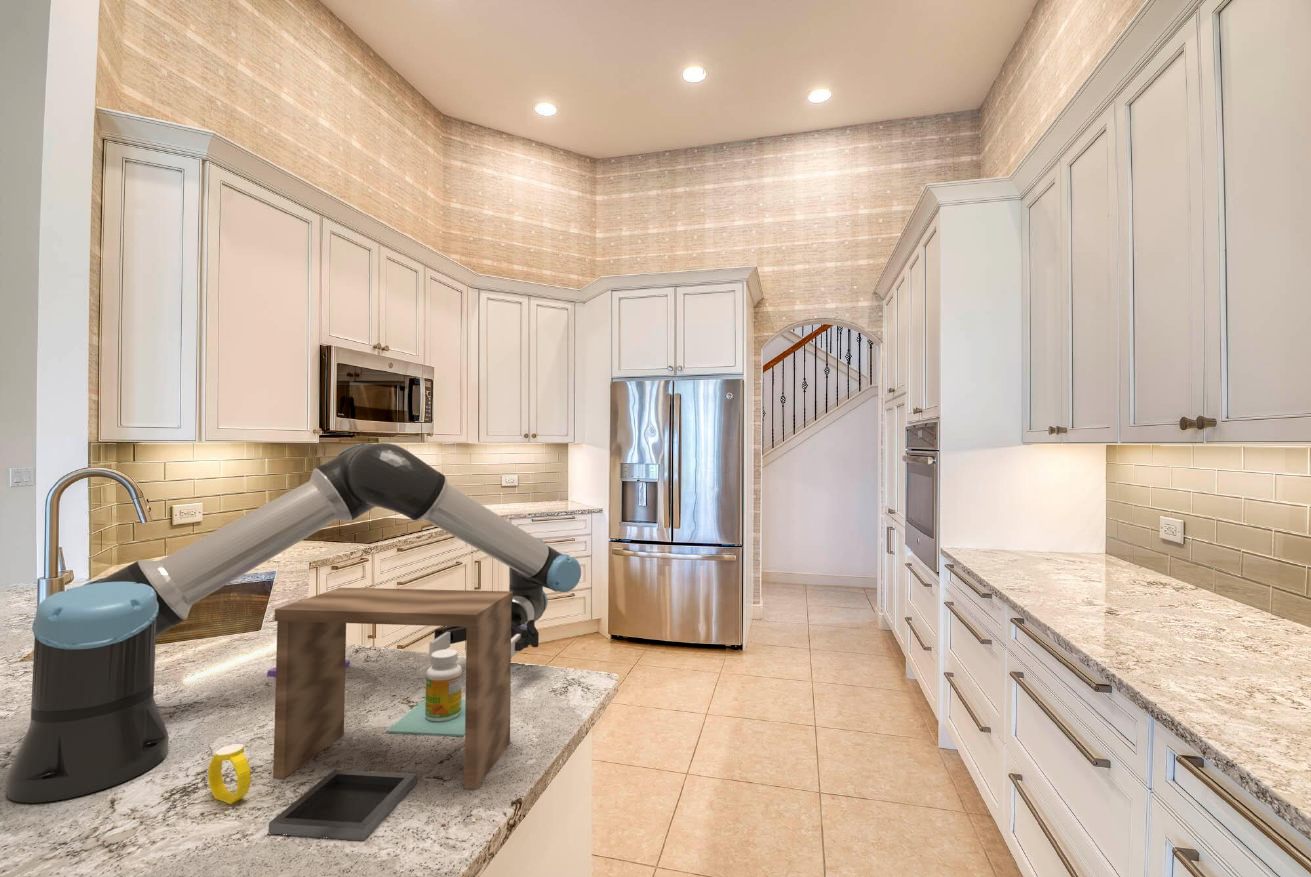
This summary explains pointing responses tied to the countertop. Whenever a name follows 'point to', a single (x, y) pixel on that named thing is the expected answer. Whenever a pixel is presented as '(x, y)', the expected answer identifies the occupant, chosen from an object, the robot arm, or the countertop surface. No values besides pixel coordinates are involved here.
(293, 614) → the tunnel
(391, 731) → the pad
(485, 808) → the countertop surface
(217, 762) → the watch
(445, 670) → the supplement bottle
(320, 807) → the tray
